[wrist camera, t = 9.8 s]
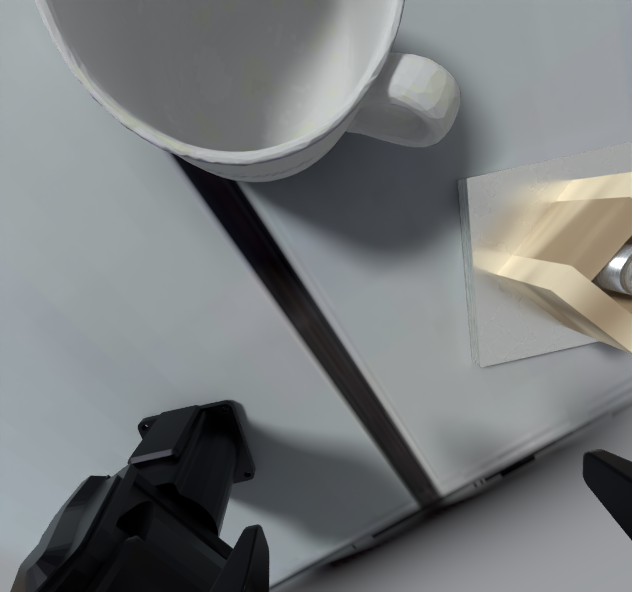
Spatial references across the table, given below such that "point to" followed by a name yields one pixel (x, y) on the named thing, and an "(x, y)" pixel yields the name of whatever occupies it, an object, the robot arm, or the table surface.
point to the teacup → (253, 77)
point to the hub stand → (504, 239)
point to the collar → (579, 259)
